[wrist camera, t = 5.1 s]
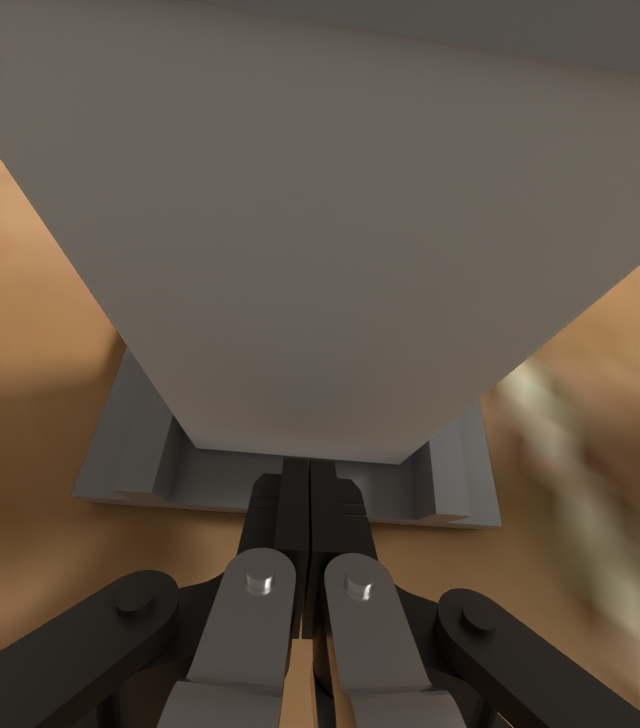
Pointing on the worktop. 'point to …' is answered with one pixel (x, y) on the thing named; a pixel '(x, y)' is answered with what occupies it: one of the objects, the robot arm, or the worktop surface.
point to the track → (276, 466)
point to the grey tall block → (329, 197)
